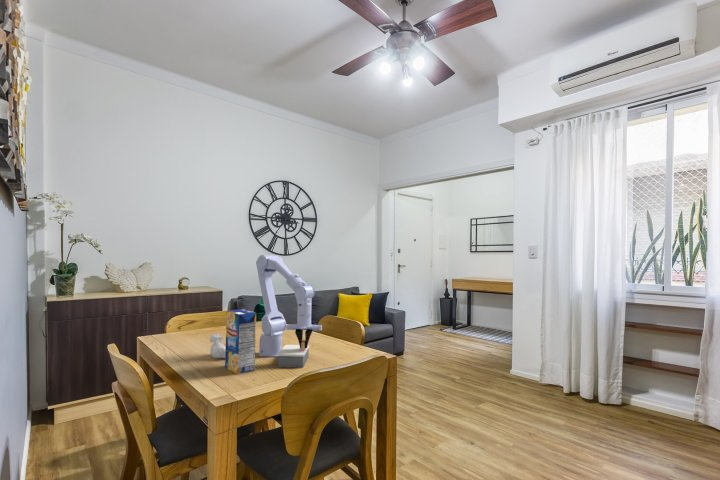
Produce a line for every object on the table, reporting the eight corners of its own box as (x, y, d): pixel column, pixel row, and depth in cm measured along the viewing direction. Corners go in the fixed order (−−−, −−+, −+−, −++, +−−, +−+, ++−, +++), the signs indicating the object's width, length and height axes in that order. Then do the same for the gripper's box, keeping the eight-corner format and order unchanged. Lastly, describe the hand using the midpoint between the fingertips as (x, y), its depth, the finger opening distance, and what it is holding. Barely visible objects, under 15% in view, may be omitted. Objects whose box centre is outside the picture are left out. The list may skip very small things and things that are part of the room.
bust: (213, 359, 158) (197, 341, 153) (227, 346, 162) (212, 328, 157) (223, 366, 149) (206, 347, 144) (237, 352, 153) (222, 333, 148)
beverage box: (237, 374, 133) (239, 314, 133) (224, 367, 141) (226, 310, 141) (254, 370, 137) (256, 312, 138) (241, 363, 145) (242, 308, 146)
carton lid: (277, 356, 142) (277, 345, 142) (285, 346, 156) (285, 336, 156) (303, 356, 142) (303, 345, 142) (309, 347, 156) (309, 337, 156)
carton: (277, 367, 142) (277, 356, 142) (285, 356, 156) (285, 347, 156) (302, 367, 142) (303, 357, 142) (308, 357, 156) (308, 347, 156)
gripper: (284, 315, 145) (284, 349, 145) (320, 316, 145) (320, 350, 145) (288, 313, 152) (287, 345, 152) (322, 313, 152) (322, 346, 152)
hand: (303, 347), depth 149 cm, fingers closed
